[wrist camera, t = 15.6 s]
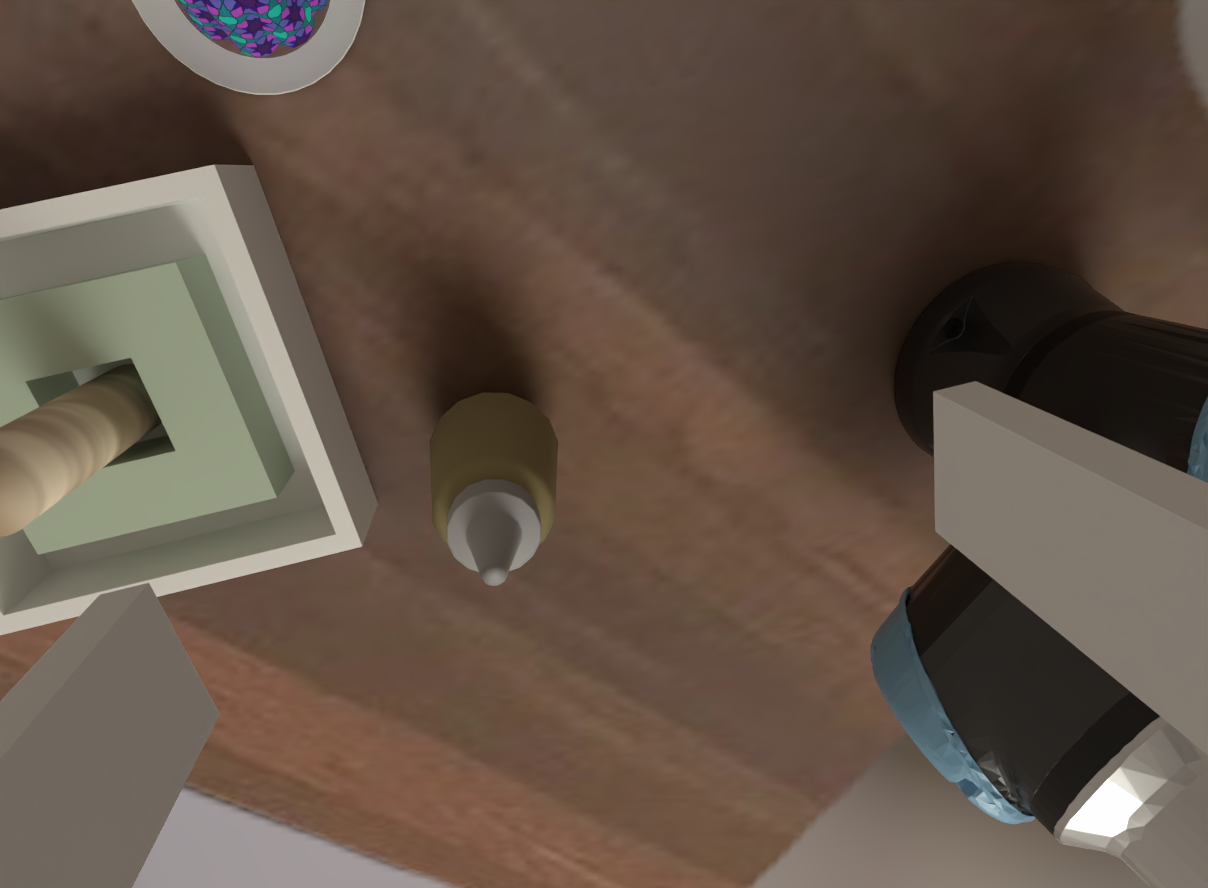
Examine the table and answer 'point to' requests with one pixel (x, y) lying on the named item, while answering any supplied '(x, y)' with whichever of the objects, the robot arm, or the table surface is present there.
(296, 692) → the table surface
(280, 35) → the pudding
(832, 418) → the table surface
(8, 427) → the peg
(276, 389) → the open box
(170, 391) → the bore plate
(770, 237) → the table surface
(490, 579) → the squeeze bottle
